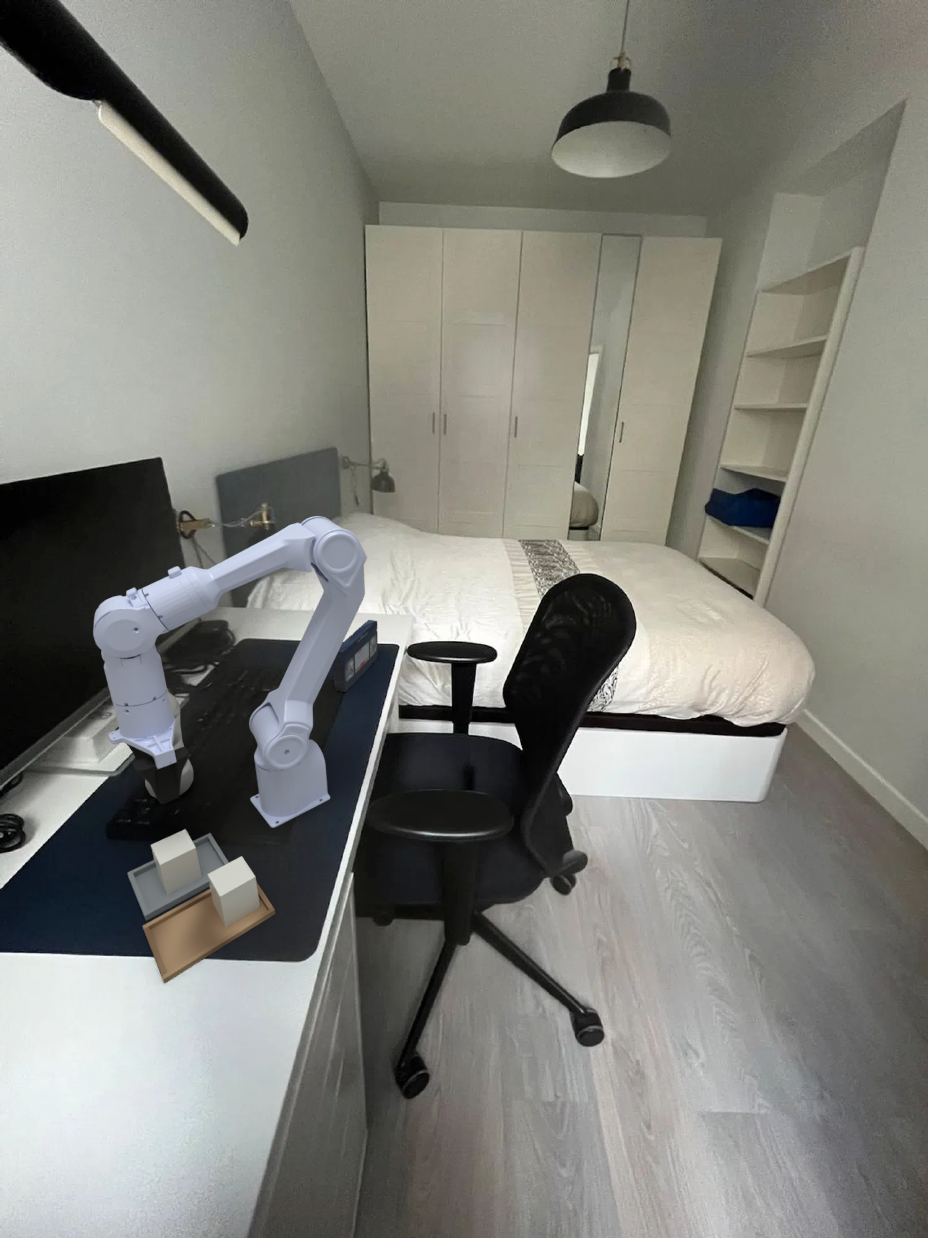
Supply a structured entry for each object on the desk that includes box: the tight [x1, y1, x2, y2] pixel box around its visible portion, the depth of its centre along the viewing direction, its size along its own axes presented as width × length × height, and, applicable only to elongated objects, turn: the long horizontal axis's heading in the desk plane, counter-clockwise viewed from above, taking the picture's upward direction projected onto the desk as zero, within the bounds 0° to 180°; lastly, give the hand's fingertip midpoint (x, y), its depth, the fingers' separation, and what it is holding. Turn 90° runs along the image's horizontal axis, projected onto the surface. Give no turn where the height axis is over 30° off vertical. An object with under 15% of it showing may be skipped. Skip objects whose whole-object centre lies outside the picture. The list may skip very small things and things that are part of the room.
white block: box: [150, 828, 202, 895], centre depth 64 cm, size 4×4×5 cm
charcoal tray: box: [127, 832, 230, 922], centre depth 65 cm, size 10×8×1 cm
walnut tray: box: [142, 881, 276, 984], centre depth 60 cm, size 12×8×1 cm, turn 134°
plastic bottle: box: [144, 691, 194, 799], centre depth 76 cm, size 6×7×20 cm
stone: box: [208, 856, 260, 928], centre depth 61 cm, size 4×4×5 cm
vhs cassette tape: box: [333, 619, 379, 693], centre depth 116 cm, size 18×3×10 cm, turn 165°
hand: (160, 784), depth 67 cm, fingers open, 7 cm apart
